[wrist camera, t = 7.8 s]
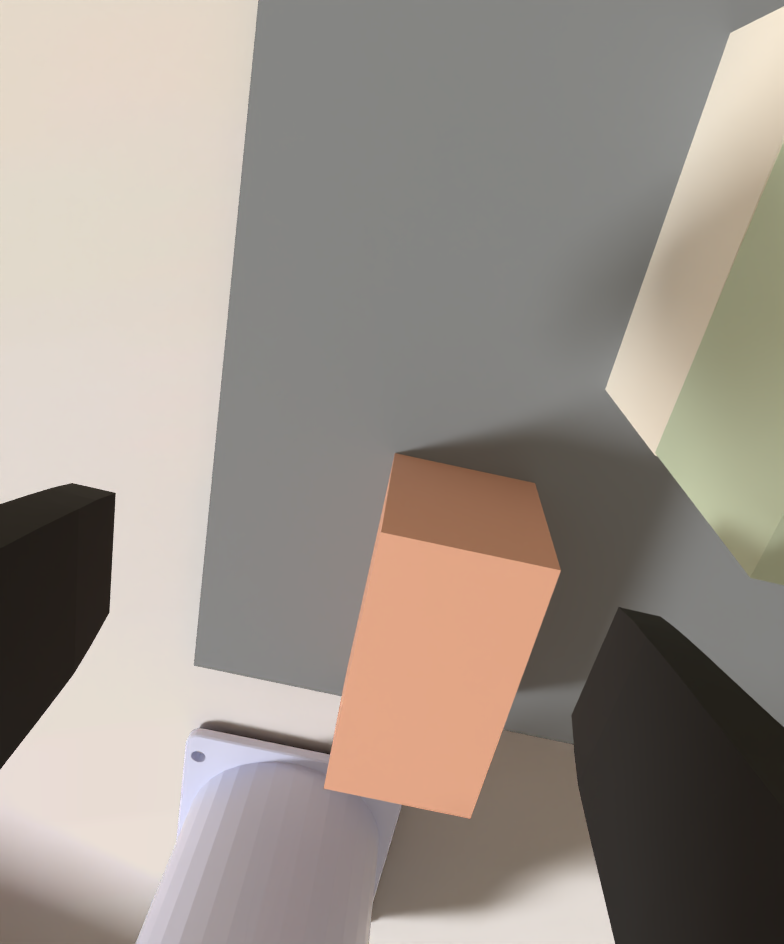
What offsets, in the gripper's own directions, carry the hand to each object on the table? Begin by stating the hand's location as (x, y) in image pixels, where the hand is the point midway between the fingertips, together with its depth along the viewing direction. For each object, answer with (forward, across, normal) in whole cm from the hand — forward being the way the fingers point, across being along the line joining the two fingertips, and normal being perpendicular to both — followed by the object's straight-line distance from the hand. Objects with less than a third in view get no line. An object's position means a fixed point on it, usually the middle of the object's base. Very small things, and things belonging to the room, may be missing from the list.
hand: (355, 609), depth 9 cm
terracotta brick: (+9, -2, +5) cm, 11 cm away
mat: (+10, -7, -1) cm, 12 cm away
